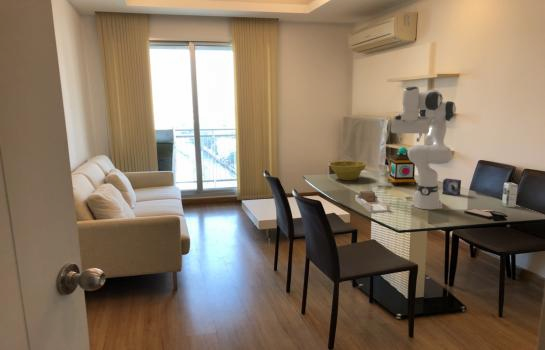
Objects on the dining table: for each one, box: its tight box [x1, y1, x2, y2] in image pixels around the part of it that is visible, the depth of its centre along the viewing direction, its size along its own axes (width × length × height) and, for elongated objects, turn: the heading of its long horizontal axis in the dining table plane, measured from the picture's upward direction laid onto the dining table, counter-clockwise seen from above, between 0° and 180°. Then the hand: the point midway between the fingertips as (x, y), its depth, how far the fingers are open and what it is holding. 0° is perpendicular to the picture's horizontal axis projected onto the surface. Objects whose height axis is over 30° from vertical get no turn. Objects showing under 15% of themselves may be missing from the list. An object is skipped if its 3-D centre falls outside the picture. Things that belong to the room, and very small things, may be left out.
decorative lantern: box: [387, 146, 417, 187], centre depth 311 cm, size 20×20×30 cm
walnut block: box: [359, 190, 376, 202], centre depth 261 cm, size 6×8×6 cm
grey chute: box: [354, 194, 390, 213], centre depth 253 cm, size 30×12×4 cm, turn 6°
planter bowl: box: [328, 160, 368, 181], centre depth 337 cm, size 32×32×13 cm
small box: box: [441, 177, 462, 197], centre depth 277 cm, size 11×6×10 cm, turn 47°
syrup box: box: [501, 182, 519, 208], centre depth 244 cm, size 6×6×14 cm
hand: (409, 141), depth 220 cm, fingers open, 8 cm apart
